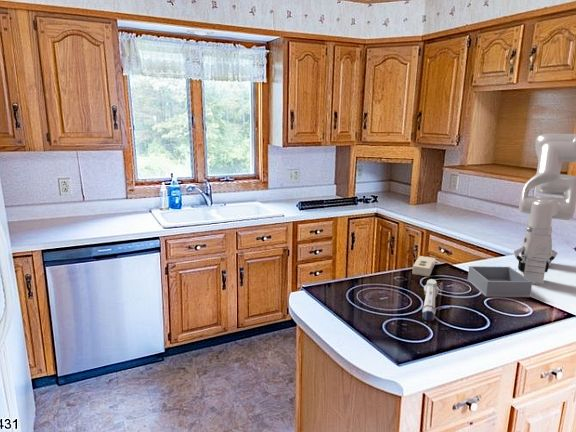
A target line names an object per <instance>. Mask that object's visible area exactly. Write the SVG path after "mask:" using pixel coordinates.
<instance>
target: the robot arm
mask: <svg viewBox="0 0 576 432" xmlns="http://www.w3.org/2000/svg"><path fill="white" fill-rule="evenodd" d="M534 143H535V146H534V147H535V153H536V157H537V160H538V161H537V168H536V173H535V175H533V176H532V177H531V178H530V179H528V180H527V181H526V182H525V183H524V185H523V186H522V189H521V191H520V197H519V203H518V209H519V211H520V212H521V214H527V215H528V225H527V227H526V228H525V229H524V230H525V232H526V233H525V235H524V237H523V239H522V240H523V241H522V245H521V247H520V248H518V249H516V250H514V251H513V254H514V256H515V258H516V260H517V261H518V266H517V269H518V271H520V273H521V272H524V269H525V263H524V262H525V261H526V258H528V259H532V255H533V254H544V255H547V261H546V267H545V273H548V271H549V267H551V265H552V264H551V263H552V261H554V260H555V258H556V256H557V255H558V252H557V251H555V250H554V249H553V248H552V247H553V238H552V232H553V228H552V227H553V226H552V220H553V219H554V220H559V221H560V220H563V221H569V220H572V219H573V217H574V215H575V211H576V176H575V175H573V174H562V173H561V169H562V164H563V163H564V162H566V163H576V133H543V134H539V135H538V136H537V137H536V138H535V142H534ZM534 188H535V191H536V192H537V193H538V194H542V195H541V196H540V195H539V196H532V195H531V196H530V195H529V193H530V191H531V190H532V189H534ZM544 195H549V196H544ZM552 196H553V197H552ZM554 196H559V197H554ZM560 196H561V197H560ZM520 254H521V255H520Z"/></svg>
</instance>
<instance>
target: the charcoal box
mask: <svg viewBox="0 0 576 432" xmlns="http://www.w3.org/2000/svg"><path fill="white" fill-rule="evenodd" d="M467 272H468V273H467V281H468V282H469V283H470V284H471V285H473V287H475V288H476V289H477V290H478V291H479V292H480V293H481V294H482V295H484V297H488V298H489V297H491V298H492V297H495V298H500V297H501V298H502V297H503V298H504V297H506V298H508V297H509V298H531V295H532V294H531V293H532V286H533V284H532V282H531V281H530V280H528V279H527V278H525V277H524V276H522V275H521V273H519V272H518V271H516V270H515V269H514V268H512V267H510V266H488V265H487V266H483V265H482V266H481V265H479V266H477V265H476V266H475V265H473V266H472V265H471V266H468V271H467Z"/></svg>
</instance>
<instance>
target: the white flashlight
mask: <svg viewBox="0 0 576 432" xmlns="http://www.w3.org/2000/svg"><path fill="white" fill-rule="evenodd" d="M439 290H440V289H439V287H438V283H437V281H436V280H435V279H434V278H433V279H432V278H430V279H428V280H427V281H426V284H425V285H424V286H423V291H424V293H423V294H424V295H425V296H424V297H425V299H424V303H423V306H422V309H421V312H422V319H423V320H424V321H430V322H431V321H434V320H435V315H436V314H437V309H436V297H438V294H439Z"/></svg>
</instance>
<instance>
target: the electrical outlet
mask: <svg viewBox="0 0 576 432" xmlns="http://www.w3.org/2000/svg"><path fill="white" fill-rule="evenodd" d="M435 265H436V258H435V257H429V256H423V255H419V256H418V258H417V259H416V260H415V262H414V263H413V265H412V271H411V272H412V273H411V274H412V275H415V276H417V275H418V276H423V277H429V278H430V276H431V274H432V272H433V269H434V267H435Z"/></svg>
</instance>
